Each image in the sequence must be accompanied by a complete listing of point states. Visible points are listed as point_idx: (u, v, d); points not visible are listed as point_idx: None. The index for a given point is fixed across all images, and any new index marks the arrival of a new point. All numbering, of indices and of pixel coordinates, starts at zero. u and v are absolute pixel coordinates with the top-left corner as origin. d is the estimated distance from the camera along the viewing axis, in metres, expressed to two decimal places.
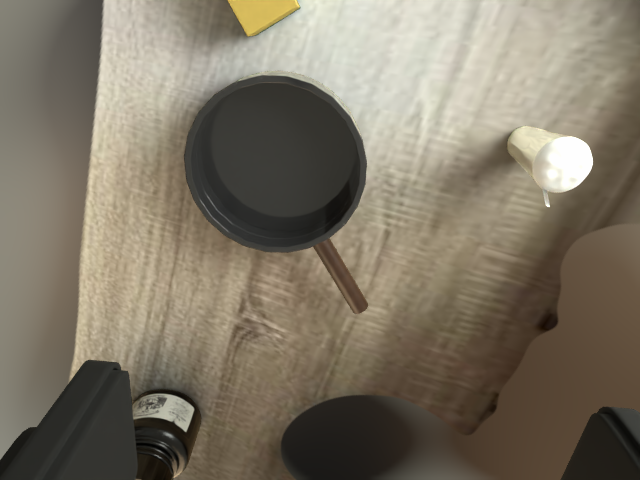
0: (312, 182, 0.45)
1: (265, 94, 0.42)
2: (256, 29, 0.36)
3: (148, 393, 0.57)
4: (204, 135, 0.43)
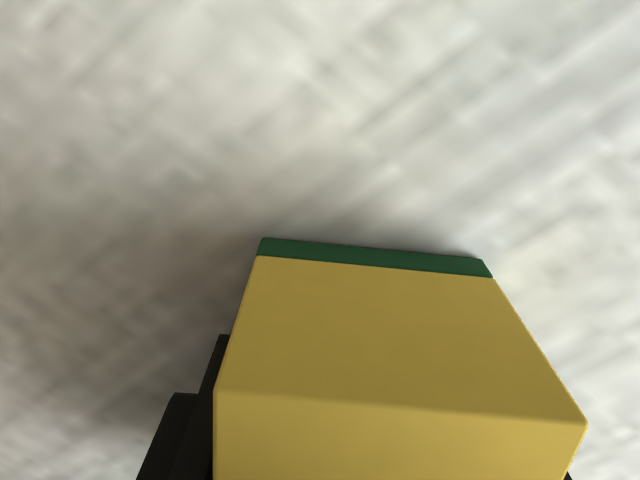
0: None
1: None
2: None
3: None
4: None
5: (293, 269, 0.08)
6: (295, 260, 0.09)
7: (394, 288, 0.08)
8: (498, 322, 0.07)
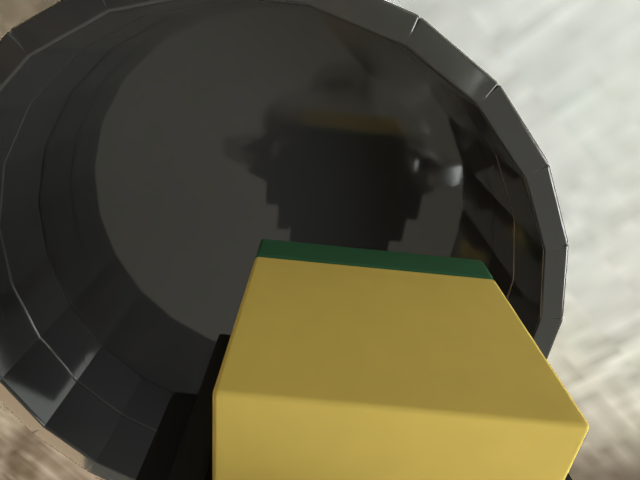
0: None
1: (345, 79, 0.13)
2: None
3: None
4: (97, 66, 0.13)
5: (293, 270, 0.08)
6: (295, 262, 0.09)
7: (394, 290, 0.08)
8: (498, 324, 0.07)
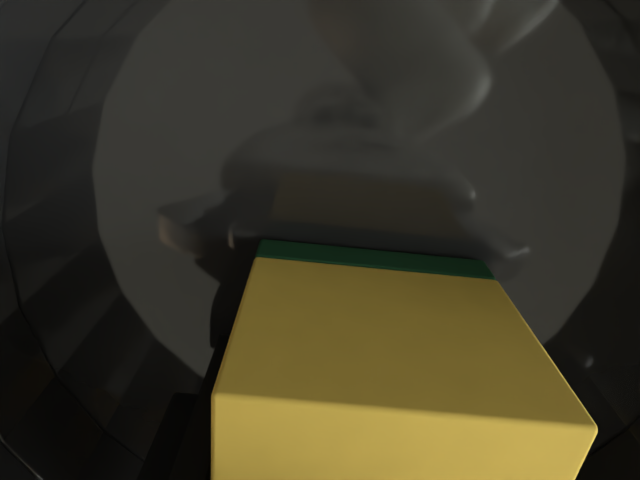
0: None
1: (534, 11, 0.07)
2: None
3: None
4: None
5: (293, 271, 0.08)
6: (295, 261, 0.09)
7: (396, 290, 0.08)
8: (502, 324, 0.07)
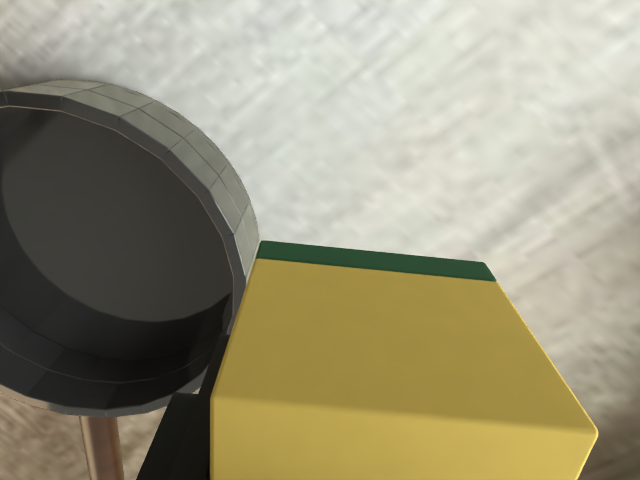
0: (140, 303, 0.25)
1: None
2: None
3: None
4: None
5: (293, 272, 0.08)
6: (295, 263, 0.09)
7: (396, 292, 0.08)
8: (503, 327, 0.07)
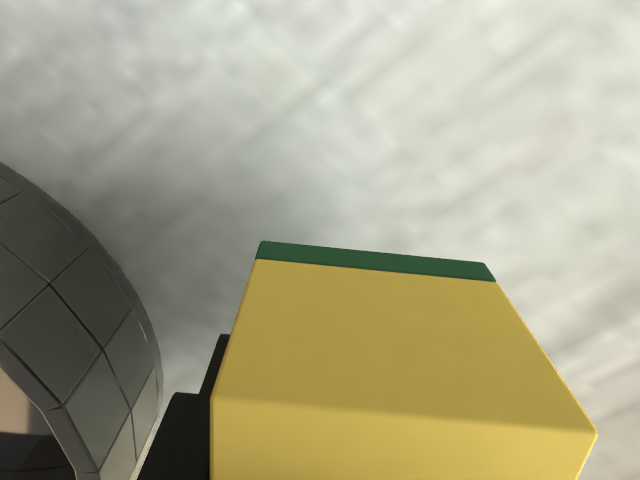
0: None
1: None
2: None
3: None
4: None
5: (293, 273, 0.08)
6: (295, 264, 0.09)
7: (396, 293, 0.08)
8: (503, 327, 0.07)
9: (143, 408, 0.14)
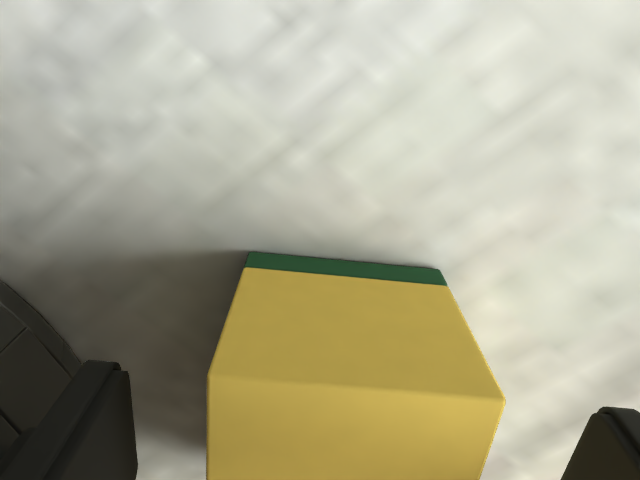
0: None
1: None
2: None
3: None
4: None
5: (275, 279, 0.10)
6: (278, 271, 0.10)
7: (361, 295, 0.09)
8: (445, 322, 0.09)
9: None
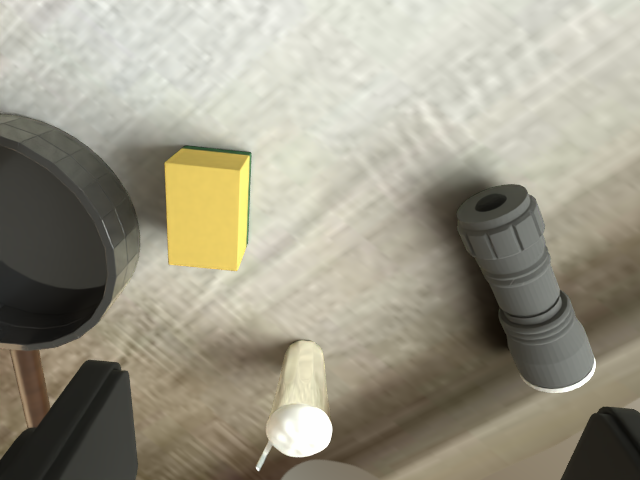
0: (56, 271, 0.35)
1: None
2: (181, 264, 0.30)
3: None
4: None
5: (190, 150, 0.30)
6: (192, 150, 0.31)
7: (216, 155, 0.30)
8: (238, 160, 0.29)
9: (130, 241, 0.33)
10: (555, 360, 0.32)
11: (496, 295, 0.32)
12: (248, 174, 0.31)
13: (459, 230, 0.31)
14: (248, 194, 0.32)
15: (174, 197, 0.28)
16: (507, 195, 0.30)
